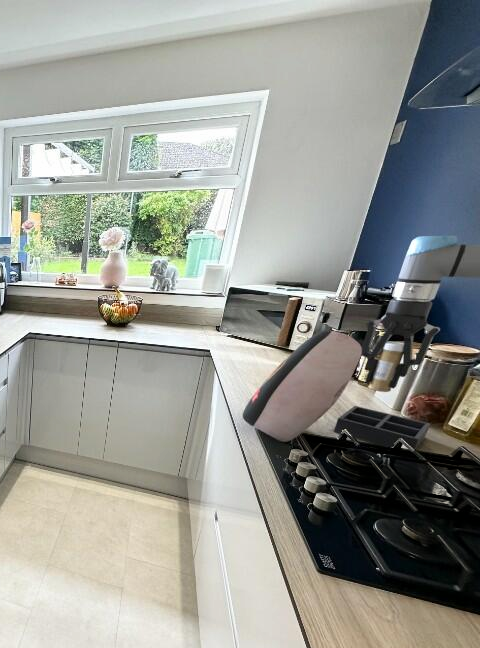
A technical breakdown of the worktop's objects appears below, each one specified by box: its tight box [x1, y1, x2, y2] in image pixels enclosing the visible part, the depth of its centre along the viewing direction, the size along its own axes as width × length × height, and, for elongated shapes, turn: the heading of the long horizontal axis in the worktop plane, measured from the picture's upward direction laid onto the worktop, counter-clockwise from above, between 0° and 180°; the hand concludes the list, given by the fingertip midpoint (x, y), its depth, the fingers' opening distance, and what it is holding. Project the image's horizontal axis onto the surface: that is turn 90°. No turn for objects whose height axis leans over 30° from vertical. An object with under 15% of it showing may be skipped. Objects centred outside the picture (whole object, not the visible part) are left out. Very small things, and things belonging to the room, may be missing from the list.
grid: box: [333, 405, 431, 450], centre depth 109 cm, size 15×15×5 cm
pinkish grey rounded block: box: [242, 330, 362, 443], centre depth 106 cm, size 22×20×30 cm
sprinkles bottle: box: [367, 340, 404, 393], centre depth 109 cm, size 5×5×13 cm
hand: (380, 384), depth 110 cm, fingers closed on sprinkles bottle, 4 cm apart
